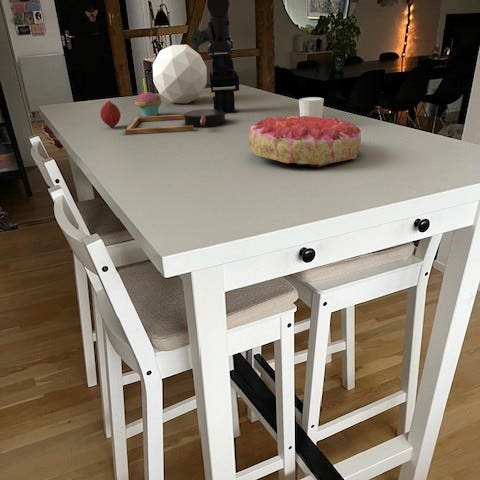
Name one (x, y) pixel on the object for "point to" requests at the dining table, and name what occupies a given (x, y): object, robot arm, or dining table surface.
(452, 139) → the dining table surface
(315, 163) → the cake
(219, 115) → the pan
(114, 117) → the onion
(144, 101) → the cupcake
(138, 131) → the pan rest
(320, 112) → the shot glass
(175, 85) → the geometric orb
